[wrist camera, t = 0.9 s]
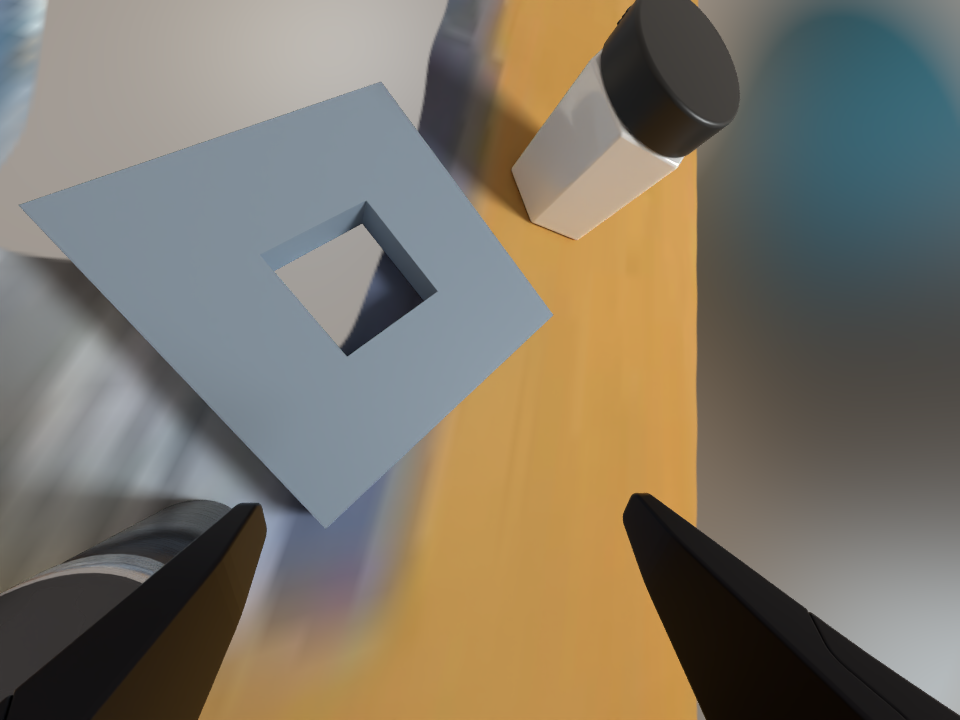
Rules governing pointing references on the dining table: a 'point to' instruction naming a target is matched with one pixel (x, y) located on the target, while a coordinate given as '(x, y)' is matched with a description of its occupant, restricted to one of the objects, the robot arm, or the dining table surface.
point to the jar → (629, 117)
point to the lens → (90, 587)
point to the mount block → (277, 312)
